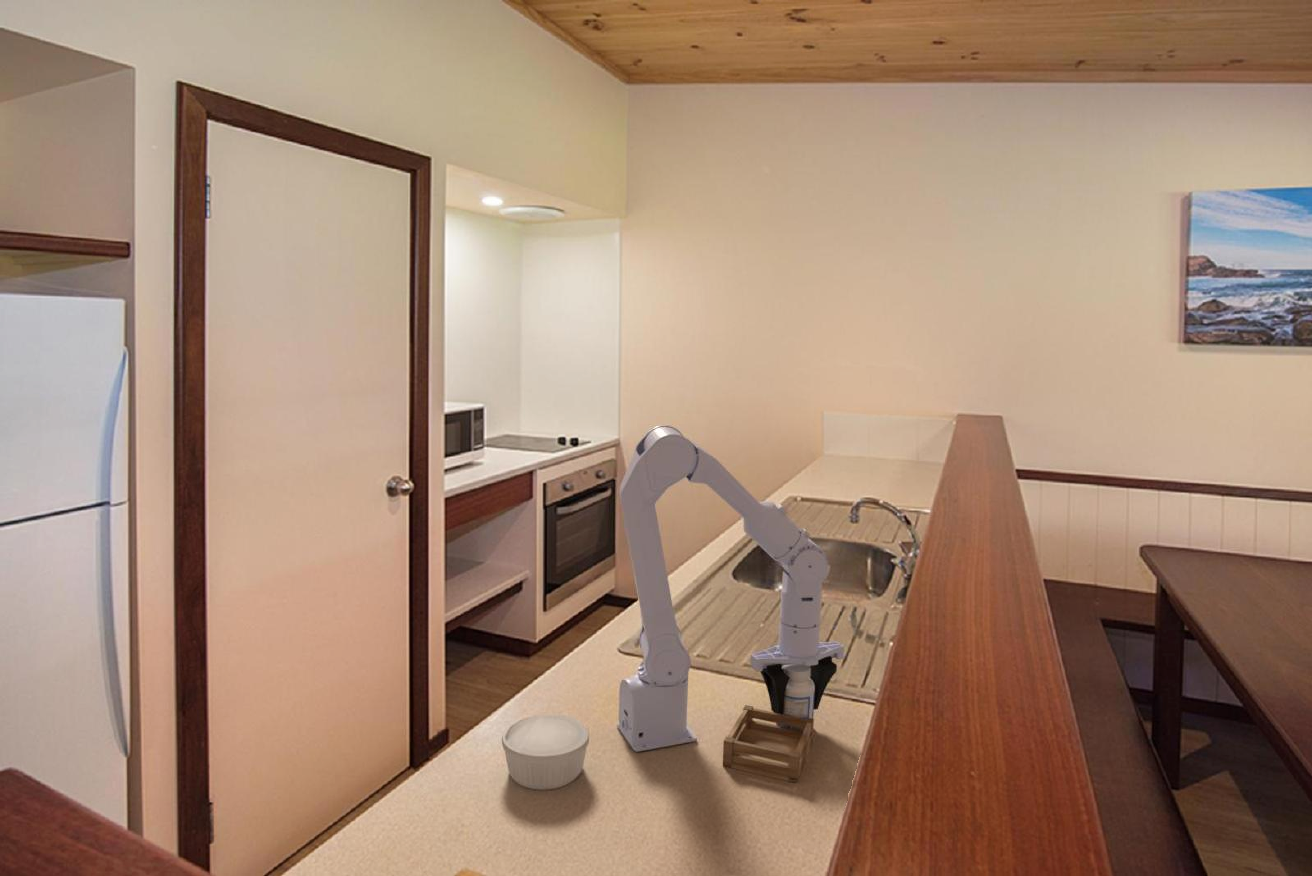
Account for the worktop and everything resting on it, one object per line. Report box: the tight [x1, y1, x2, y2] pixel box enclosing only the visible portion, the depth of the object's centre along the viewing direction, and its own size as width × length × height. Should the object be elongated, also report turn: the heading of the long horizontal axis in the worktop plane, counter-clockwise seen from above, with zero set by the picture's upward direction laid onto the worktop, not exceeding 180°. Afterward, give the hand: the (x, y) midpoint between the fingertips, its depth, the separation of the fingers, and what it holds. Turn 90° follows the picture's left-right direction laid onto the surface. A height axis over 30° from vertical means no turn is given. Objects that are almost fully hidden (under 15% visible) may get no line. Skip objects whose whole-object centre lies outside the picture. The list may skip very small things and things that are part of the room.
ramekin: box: [501, 713, 590, 791], centre depth 106 cm, size 11×11×5 cm
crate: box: [722, 704, 815, 784], centre depth 111 cm, size 11×10×4 cm
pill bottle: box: [775, 664, 815, 731], centre depth 118 cm, size 6×5×10 cm
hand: (794, 709), depth 118 cm, fingers closed on pill bottle, 5 cm apart
